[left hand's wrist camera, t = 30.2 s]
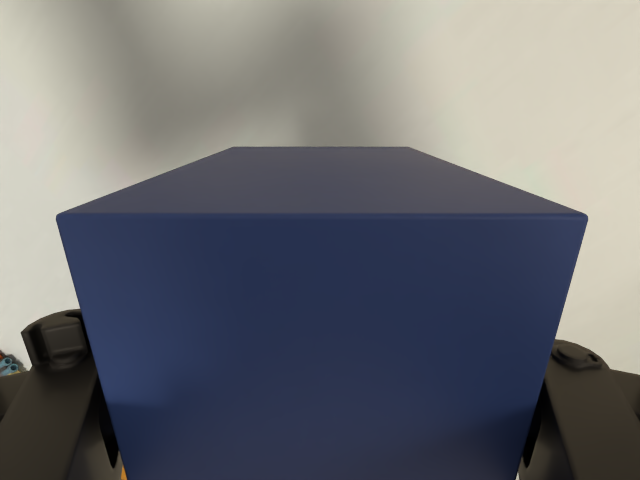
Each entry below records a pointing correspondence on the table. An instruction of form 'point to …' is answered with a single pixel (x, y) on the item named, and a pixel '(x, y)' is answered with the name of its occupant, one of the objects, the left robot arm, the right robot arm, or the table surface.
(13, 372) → the toy gun
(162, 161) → the table surface
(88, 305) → the brick
